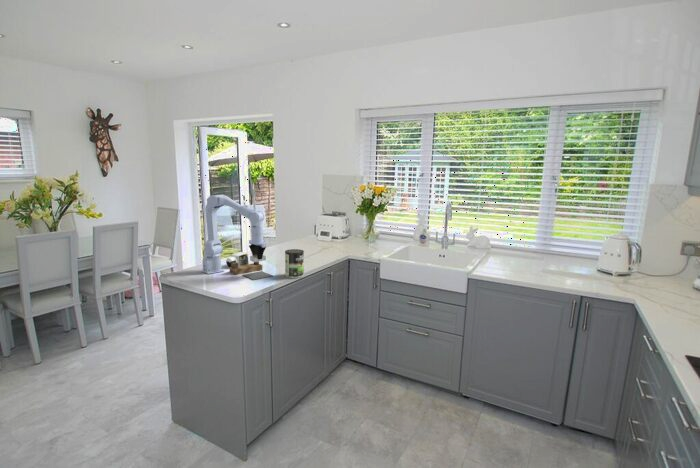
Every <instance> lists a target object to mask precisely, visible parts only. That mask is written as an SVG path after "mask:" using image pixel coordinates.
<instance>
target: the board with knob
mask: <svg viewBox="0 0 700 468" xmlns="http://www.w3.org/2000/svg"><path fill="white" fill-rule="evenodd" d="M228 268H229V273H230V274H232V275H235V276H237V275H244V274H249V273H254V272H260V271H263V264H261V263H260V261H258V262H253V263H249V264H246V265H240V266H238V263H237V262H233V263H231V267H228Z"/></svg>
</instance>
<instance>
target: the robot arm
mask: <svg viewBox="0 0 700 468" xmlns="http://www.w3.org/2000/svg"><path fill="white" fill-rule="evenodd" d="M224 206H228V207H229V208H232V209H233V210H236V211H238V213H239V215H241V216H243V217H245V218H246V219H248V220H249V222H250V225H251V239H249V240H248V244H249V245H248V248H249V249H250V251H251V256H252V255H257V257H258V260H260V259H262V257H263V255H264V252H265V250H266V248H267V244H266V243H265V241H264V240H263V239H264V238H263V221H264V219H265V214H264V213H263V212H262V211H260V210H258V211H257V210H256V209H255V208H254V209H253V208H252V207H250V206H249V204H243V205H242V204H240V203H238V202H237V201H235V200H233V199H232V198H230V197H229V196H228V195H225V194H222V193H221V194H215V195H214V194H211V195H210V196H207V198H206V205H205V208H204V210H205V211H204V212H205V220H206V234H207V240H206V242H205V243H204V250H203V252H204V253H203V254H204V255H205V256H206V257H203V258H202V261H201V262H202V273H205V274H207V275H210V274H215V273H216V274H217V273H222V272H225V270H224V269H222V259H221V258H222V253H223V251H224V247H223V245H222V241H221V240H220V239H219V233H218V232H219V231H218V219H217V211H218V210H220V208H222V207H224Z"/></svg>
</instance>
